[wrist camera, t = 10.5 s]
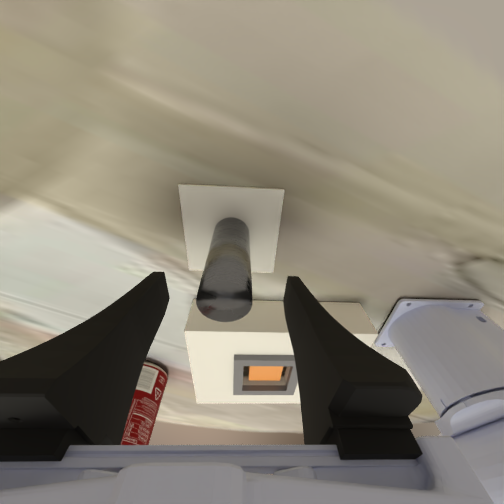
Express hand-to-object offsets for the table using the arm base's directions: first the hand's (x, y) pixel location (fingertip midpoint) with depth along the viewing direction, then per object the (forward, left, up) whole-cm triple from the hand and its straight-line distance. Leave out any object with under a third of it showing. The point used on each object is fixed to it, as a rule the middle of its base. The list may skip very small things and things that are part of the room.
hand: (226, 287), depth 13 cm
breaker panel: (-5, +15, -7) cm, 17 cm away
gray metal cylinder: (0, 0, -7) cm, 7 cm away
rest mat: (0, 0, -7) cm, 7 cm away
